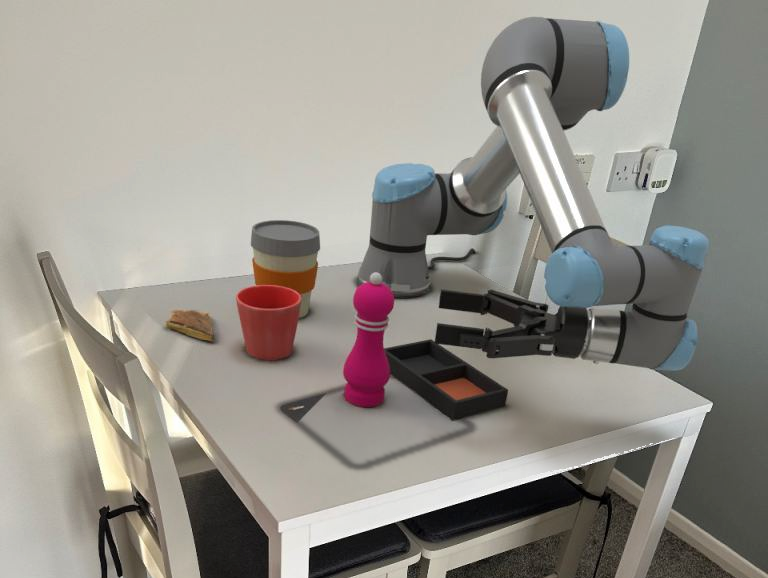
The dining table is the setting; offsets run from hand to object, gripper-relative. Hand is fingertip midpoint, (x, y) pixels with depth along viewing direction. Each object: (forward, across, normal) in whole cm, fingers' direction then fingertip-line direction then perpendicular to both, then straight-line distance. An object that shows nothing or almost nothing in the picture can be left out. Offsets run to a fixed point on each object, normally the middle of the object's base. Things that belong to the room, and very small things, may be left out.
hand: (437, 315), depth 113 cm
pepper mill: (+10, 0, -15) cm, 18 cm away
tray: (-2, +8, -15) cm, 17 cm away
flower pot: (+28, +12, -15) cm, 34 cm away
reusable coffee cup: (+29, +31, -15) cm, 45 cm away
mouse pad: (+7, -6, -16) cm, 18 cm away
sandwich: (+41, +18, -15) cm, 48 cm away
